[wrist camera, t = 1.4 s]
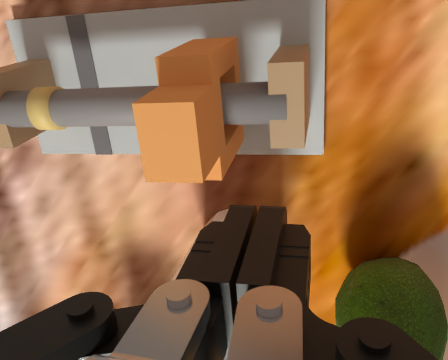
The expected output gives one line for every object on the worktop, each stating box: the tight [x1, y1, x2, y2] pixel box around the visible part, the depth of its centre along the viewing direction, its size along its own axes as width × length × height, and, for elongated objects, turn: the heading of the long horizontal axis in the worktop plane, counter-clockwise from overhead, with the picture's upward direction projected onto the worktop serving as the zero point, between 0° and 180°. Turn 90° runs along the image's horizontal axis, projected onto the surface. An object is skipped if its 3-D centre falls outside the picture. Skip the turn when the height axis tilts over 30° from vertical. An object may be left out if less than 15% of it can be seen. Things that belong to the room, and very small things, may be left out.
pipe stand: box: [0, 0, 326, 155], centre depth 30 cm, size 24×11×8 cm, turn 95°
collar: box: [132, 37, 244, 183], centre depth 25 cm, size 3×7×10 cm, turn 5°
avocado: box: [336, 257, 448, 360], centre depth 31 cm, size 8×8×12 cm
